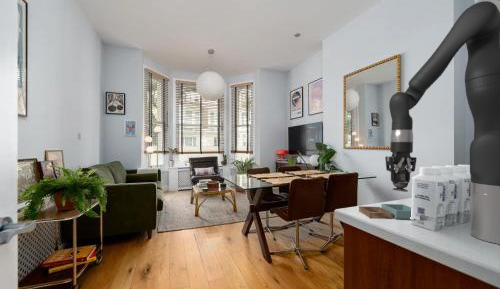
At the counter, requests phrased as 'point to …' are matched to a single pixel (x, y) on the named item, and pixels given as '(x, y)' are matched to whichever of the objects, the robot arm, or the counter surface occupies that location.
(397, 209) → the teal tray
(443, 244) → the counter surface
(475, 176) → the robot arm
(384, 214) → the walnut socket
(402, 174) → the salt shaker
